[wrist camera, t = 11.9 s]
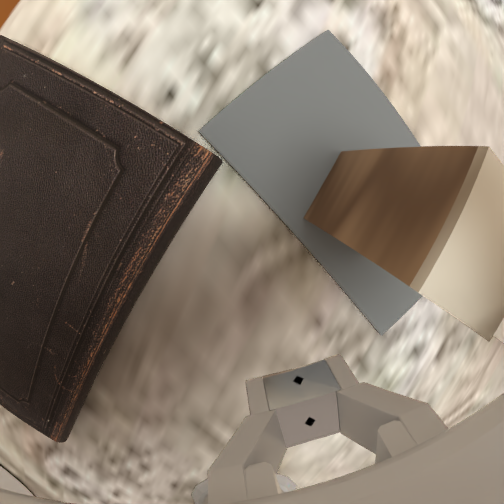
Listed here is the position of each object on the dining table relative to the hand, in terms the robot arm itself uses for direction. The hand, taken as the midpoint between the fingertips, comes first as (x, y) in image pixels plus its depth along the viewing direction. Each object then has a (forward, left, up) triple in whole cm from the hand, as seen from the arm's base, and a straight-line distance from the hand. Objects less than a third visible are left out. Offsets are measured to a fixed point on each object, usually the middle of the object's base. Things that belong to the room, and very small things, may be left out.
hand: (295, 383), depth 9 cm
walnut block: (+7, 0, -8) cm, 10 cm away
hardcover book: (-10, +11, -9) cm, 18 cm away
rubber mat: (+8, 0, -8) cm, 11 cm away
